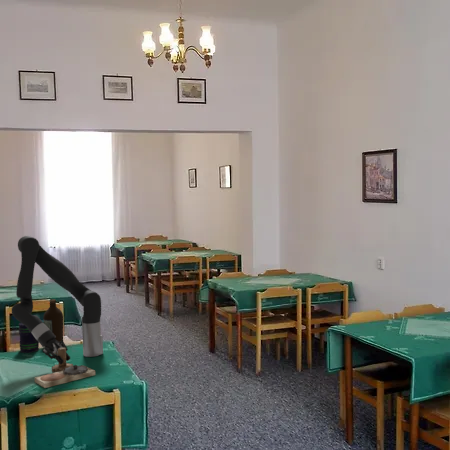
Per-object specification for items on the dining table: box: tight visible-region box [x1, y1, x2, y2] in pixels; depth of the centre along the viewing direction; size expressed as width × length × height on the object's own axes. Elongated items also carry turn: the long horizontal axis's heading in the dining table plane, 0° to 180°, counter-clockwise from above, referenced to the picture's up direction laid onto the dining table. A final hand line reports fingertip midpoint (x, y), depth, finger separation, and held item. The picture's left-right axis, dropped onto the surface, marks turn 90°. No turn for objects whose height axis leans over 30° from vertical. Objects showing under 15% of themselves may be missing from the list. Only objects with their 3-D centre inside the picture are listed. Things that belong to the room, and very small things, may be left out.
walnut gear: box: [51, 348, 74, 373], centre depth 262 cm, size 10×10×10 cm
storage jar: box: [18, 322, 40, 354], centre depth 297 cm, size 10×10×15 cm
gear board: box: [34, 364, 96, 389], centre depth 249 cm, size 24×11×5 cm, turn 132°
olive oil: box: [42, 298, 64, 342], centre depth 308 cm, size 11×11×25 cm
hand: (65, 361), depth 262 cm, fingers open, 4 cm apart
